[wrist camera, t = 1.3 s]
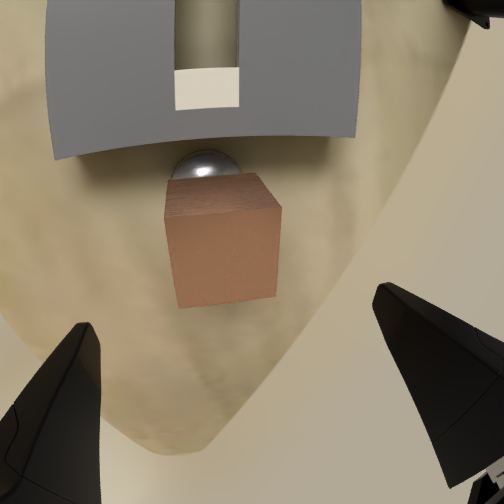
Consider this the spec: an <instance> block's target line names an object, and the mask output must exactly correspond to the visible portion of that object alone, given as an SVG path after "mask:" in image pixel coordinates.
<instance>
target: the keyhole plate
mask: <svg viewBox="0 0 504 504" xmlns="http://www.w3.org/2000/svg"><path fill="white" fill-rule="evenodd" d="M360 62H361V0H237V37H236V67H230V68H199V69H184V70H175V0H47V11H46V27H45V77H46V94H47V106H48V116H49V125H50V133H51V140H52V147H53V153H54V159H55V160H59V159H64V158H68V157H73V156H78V155H83V154H88V153H93V152H99V151H104V150H110V149H117V148H123V147H130V146H137V145H144V144H152V143H160V142H169V141H179V140H190V139H202V138H217V137H237V136H329V137H348V138H355V133H356V122H357V111H358V98H359V82H360Z"/></svg>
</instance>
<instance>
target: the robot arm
mask: <svg viewBox="0 0 504 504" xmlns="http://www.w3.org/2000/svg"><path fill="white" fill-rule="evenodd" d="M443 1H444V3H445V4H446V5H447V6H449V7H450V8H452V9H454V10H456V11H457V12H459V13H461V14H462V15H464V16H466V17H467V18H469V19H470V20H472V21H473V22H475V23H476V24H478V25H479V26H481V27H483V28H484V29H489V28H490V21H489V17H496V18H504V0H449V1H448V0H443ZM372 307H373V311H374V313H375V316H376V318H377V320H378V323H379V326H380V328H381V331H382V334H383V336H384V339H385V341H386V344H387V346H388V348H389V350H390V352H391V354H392V356H393V358H394V361H395V363H396V365H397V367H398V369H399V371H400V373H401V375H402V377H403V379H404V381H405V383H406V385H407V388H408V390H409V392H410V394H411V396H412V399H413V401H414V403H415V405H416V407H417V410H418V412H419V414H420V416H421V419H422V421H423V423H424V426H425V428H426V430H427V433H428V435H429V437H430V440H431V442H432V445H433V448H434V450H435V453H436V455H437V458H438V461H439V463H440V466H441V468H442V471H443V474H444V477H445V479H446V482H447V485H448V487H449V488H450V489H451V488H452V487H454V486H456V485H458V484H460V483H462V482H464V481H465V480H467V479H469V478H470V477H472V476H474V475H475V474H477V473H479V472H480V471H482V470H484V469H486V472H485V473H484V474H483V475H482V476H480V477H479V478H478V479H477V480H476V481H474V482H473V485H472V489H471V493H470V497H469V500H468V504H504V342H502V341H500V340H498V339H496V338H494V337H492V336H490V335H488V334H486V333H485V332H483V331H481V330H479V329H477V328H476V327H473V326H472V325H470V324H468V323H466V322H465V321H463V320H461V319H459V318H457V317H455V316H453V315H452V314H450V313H448V312H446V311H444V310H442V309H441V308H439V307H437V306H435V305H433V304H431V303H429V302H427V301H425V300H424V299H422V298H420V297H418V296H416V295H414V294H412V293H410V292H408V291H406V290H405V289H403V288H401V287H399V286H397V285H395V284H393V283H390V282H387V283H382V284H379V286H378V287H377V290H376V293H375V296H374V299H373V303H372ZM100 352H101V349H100V342H99V339H98V337H97V335H96V333H95V331H94V329H93V327H92V325H91V324H90V323H89V322H82V323H77V324H76V325H75V326H74V327H73V328H72V329H71V331H70V332H69V333H68V334H67V335H66V336H65V338H64V339H63V340H62V341H61V342H60V344H59V345H58V346H57V347H56V348H55V350H54V351H53V352H52V353H51V355H50V356H49V357H48V358H47V360H46V361H45V362H44V363H43V365H42V366H41V367H40V368H39V370H38V371H37V372H36V373H35V375H34V376H33V377H32V379H31V380H30V381H29V383H28V384H27V385H26V387H25V388H24V389H23V391H22V392H21V393H20V395H19V396H18V398H17V399H16V400H15V401H14V404H13V405H11V407H10V408H9V410H8V411H7V413H6V414H5V416H4V417H3V418H2V419H1V421H0V504H101V489H100V464H99V463H100V462H99V435H100V433H99V432H100V408H101V355H100Z"/></svg>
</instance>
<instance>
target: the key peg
mask: <svg viewBox="0 0 504 504" xmlns="http://www.w3.org/2000/svg"><path fill="white" fill-rule="evenodd" d="M281 213H282V207H281V206H280V204H279V203H278V202H277V200H276V199H275V198H274V196H273V195H272V194H271V193H270V191H269V190H268V189H267V187H266V186H265V185H264V183H263V182H262V181H261V180H260V178H259V177H258V176H257V174H256V173H247V174H242V173H241V171H240V170H239V168H238V167H237V165H236V164H235V162H234V161H233V160H232V159H231V158H229V157H228V156H227V155H225V154H223V153H220V152H217V151H212V150H203V151H198V152H194V153H192V154H190V155H188V156H186V157H185V158H184V159H182V160H181V161H180V162H179V164H178V165H177V166H176V168H175V170H174V171H173V174H172V177H171V180H168V185H167V194H166V204H165V214H164V221H165V228H166V235H167V242H168V249H169V255H170V261H171V267H172V273H173V279H174V284H175V290H176V295H177V301H178V306H179V309H182V308H190V307H199V306H207V305H216V304H224V303H231V302H239V301H246V300H254V299H261V298H268V297H274V296H276V286H277V273H278V259H279V244H280V229H281Z"/></svg>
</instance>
